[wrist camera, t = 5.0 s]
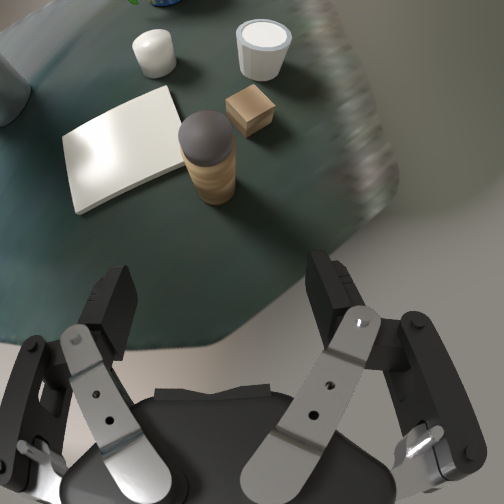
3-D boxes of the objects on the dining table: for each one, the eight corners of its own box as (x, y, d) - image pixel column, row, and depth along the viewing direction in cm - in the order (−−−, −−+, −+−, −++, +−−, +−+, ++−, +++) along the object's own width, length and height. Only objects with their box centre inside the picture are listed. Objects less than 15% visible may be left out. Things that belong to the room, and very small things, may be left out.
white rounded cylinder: (148, 83, 34) (138, 58, 28) (137, 64, 34) (128, 40, 29) (181, 68, 34) (176, 42, 29) (169, 49, 35) (163, 24, 29)
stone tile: (80, 215, 32) (75, 213, 30) (66, 140, 32) (62, 136, 31) (196, 160, 33) (194, 156, 32) (168, 90, 34) (166, 85, 33)
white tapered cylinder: (271, 91, 34) (278, 58, 28) (226, 73, 34) (225, 39, 28) (291, 62, 35) (300, 30, 28) (249, 46, 35) (252, 13, 28)
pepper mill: (204, 211, 32) (186, 168, 20) (191, 177, 33) (168, 121, 20) (241, 196, 33) (244, 146, 20) (226, 163, 33) (222, 101, 20)
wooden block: (245, 138, 34) (246, 122, 30) (226, 117, 34) (225, 99, 30) (271, 122, 34) (275, 105, 30) (251, 102, 34) (253, 84, 30)
